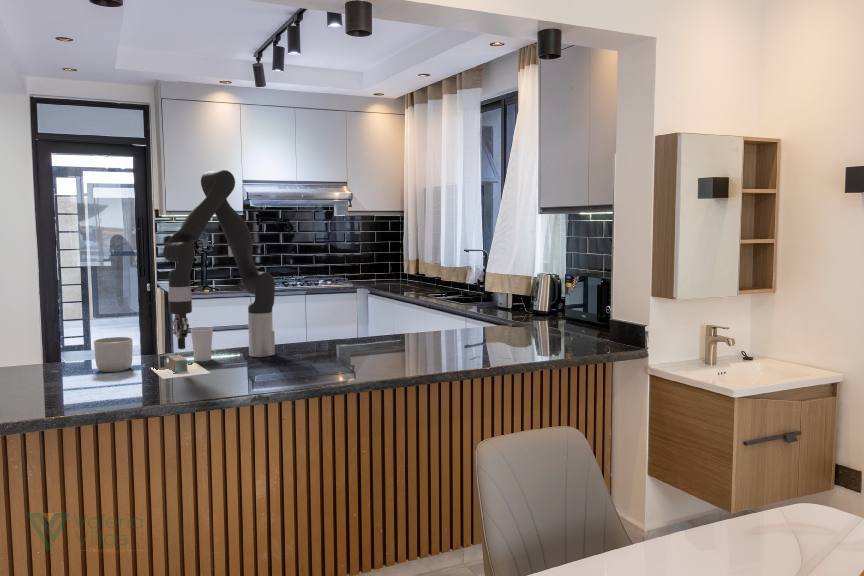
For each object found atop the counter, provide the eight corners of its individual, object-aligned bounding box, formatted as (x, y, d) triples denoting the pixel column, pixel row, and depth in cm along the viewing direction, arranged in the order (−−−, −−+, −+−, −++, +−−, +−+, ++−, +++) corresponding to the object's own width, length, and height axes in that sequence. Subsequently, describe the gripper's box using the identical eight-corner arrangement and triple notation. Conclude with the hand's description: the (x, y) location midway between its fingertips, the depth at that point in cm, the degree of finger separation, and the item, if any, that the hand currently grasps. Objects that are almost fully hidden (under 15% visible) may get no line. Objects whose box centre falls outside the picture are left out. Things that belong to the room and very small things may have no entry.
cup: (206, 362, 250) (205, 331, 249) (187, 361, 252) (186, 330, 250) (217, 358, 258) (216, 327, 257) (198, 357, 259) (197, 326, 258)
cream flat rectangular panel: (195, 363, 248) (195, 362, 248) (211, 373, 232) (211, 373, 232) (149, 368, 239) (149, 367, 239) (162, 379, 223) (162, 378, 223)
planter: (114, 375, 228) (113, 343, 227) (86, 372, 233) (85, 341, 232) (141, 368, 240) (140, 338, 239) (114, 365, 244) (113, 335, 243)
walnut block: (187, 370, 235) (180, 365, 243) (187, 359, 235) (179, 354, 243) (175, 372, 233) (168, 366, 241) (175, 360, 232) (168, 356, 241)
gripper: (196, 300, 227) (197, 350, 229) (186, 297, 238) (187, 344, 239) (173, 302, 223) (174, 353, 224) (164, 298, 234) (165, 346, 235)
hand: (181, 348), depth 232 cm, fingers closed
